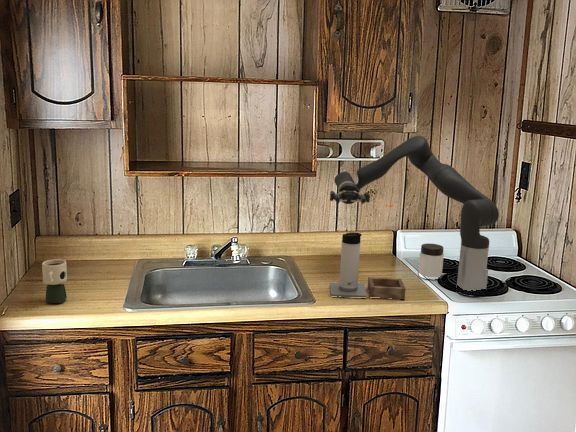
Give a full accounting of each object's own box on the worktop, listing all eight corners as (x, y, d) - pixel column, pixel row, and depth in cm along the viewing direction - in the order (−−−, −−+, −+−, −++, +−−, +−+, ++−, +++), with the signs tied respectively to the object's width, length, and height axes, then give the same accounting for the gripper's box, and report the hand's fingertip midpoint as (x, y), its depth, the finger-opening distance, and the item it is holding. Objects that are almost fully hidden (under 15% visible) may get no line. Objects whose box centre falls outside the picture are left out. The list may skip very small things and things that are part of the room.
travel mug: (352, 293, 203) (356, 236, 198) (335, 288, 206) (338, 232, 202) (361, 288, 208) (365, 232, 203) (345, 284, 211) (348, 229, 207)
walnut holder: (400, 289, 212) (401, 278, 211) (404, 300, 201) (405, 288, 200) (367, 287, 212) (368, 277, 211) (370, 298, 202) (371, 287, 201)
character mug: (63, 308, 185) (61, 267, 182) (39, 308, 184) (36, 267, 181) (72, 295, 195) (70, 257, 192) (49, 295, 195) (47, 257, 192)
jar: (446, 279, 225) (449, 248, 222) (429, 281, 221) (432, 250, 218) (429, 272, 232) (432, 242, 230) (413, 274, 228) (416, 244, 226)
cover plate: (363, 287, 213) (363, 283, 212) (366, 299, 201) (366, 295, 201) (329, 285, 213) (330, 282, 213) (330, 297, 201) (330, 294, 201)
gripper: (366, 202, 228) (370, 211, 212) (328, 201, 228) (329, 210, 212) (367, 183, 226) (371, 190, 210) (329, 181, 226) (330, 189, 211)
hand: (350, 200), depth 211 cm, fingers open, 8 cm apart
